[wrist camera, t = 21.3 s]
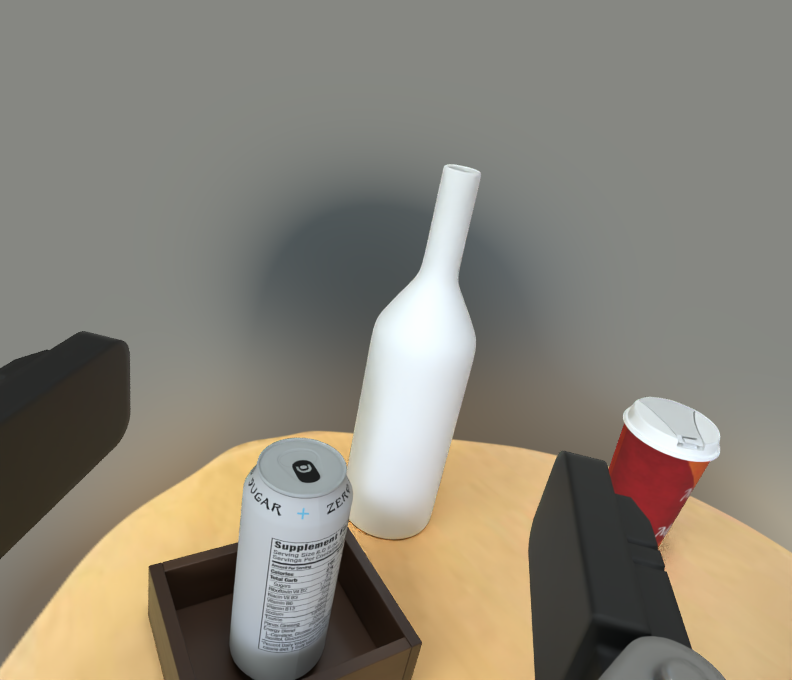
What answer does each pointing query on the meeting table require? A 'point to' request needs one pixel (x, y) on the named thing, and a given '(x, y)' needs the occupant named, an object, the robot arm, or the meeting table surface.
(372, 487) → the bottle
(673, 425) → the paper cup
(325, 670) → the walnut box
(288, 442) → the energy drink can
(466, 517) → the meeting table surface
